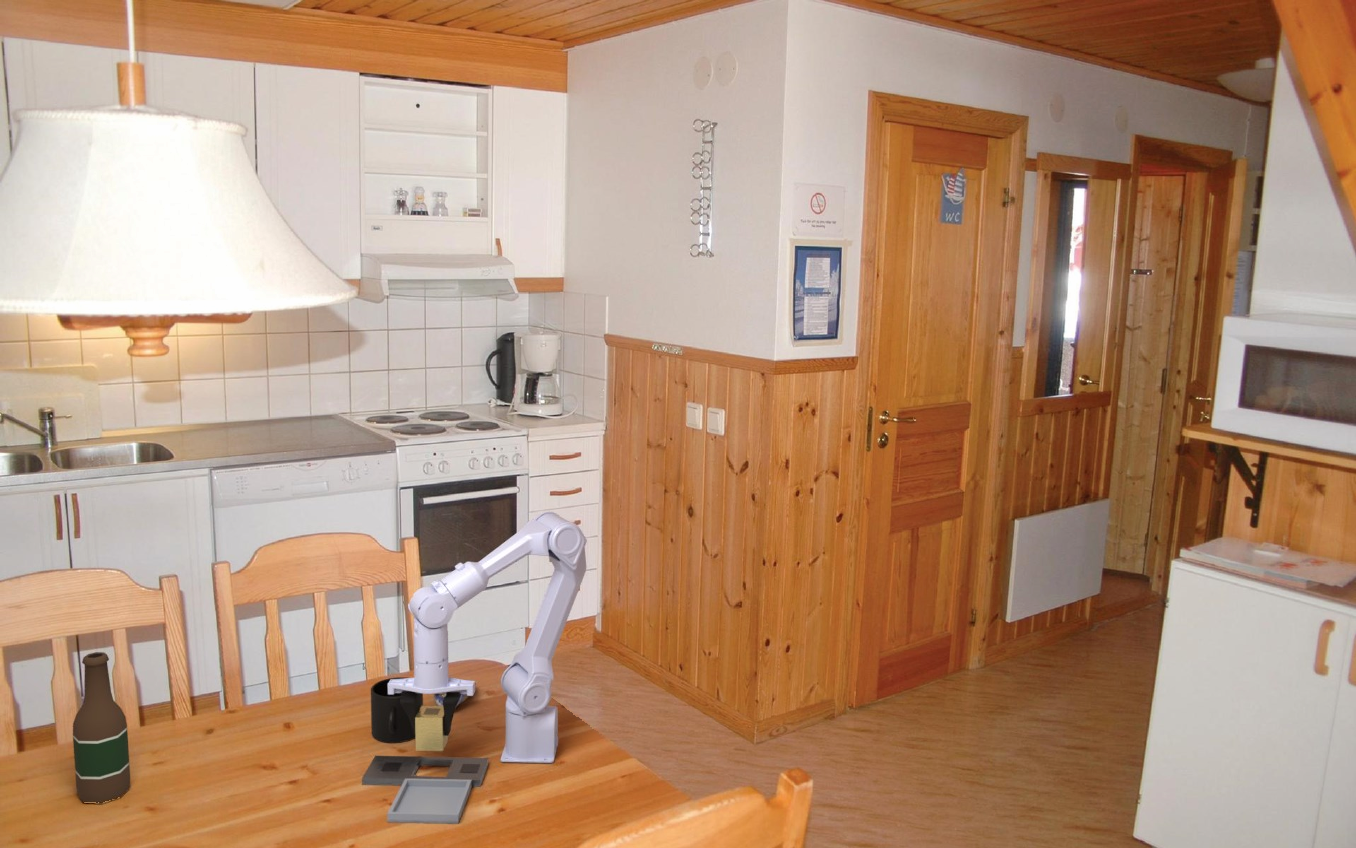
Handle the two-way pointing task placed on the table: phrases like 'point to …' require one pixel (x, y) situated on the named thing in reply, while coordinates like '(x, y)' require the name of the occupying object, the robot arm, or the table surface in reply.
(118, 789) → the beer bottle
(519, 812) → the table surface
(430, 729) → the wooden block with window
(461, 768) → the metal plate with cutout
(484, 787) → the table surface
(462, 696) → the snack package
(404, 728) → the mug
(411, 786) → the parts tray
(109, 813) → the table surface
